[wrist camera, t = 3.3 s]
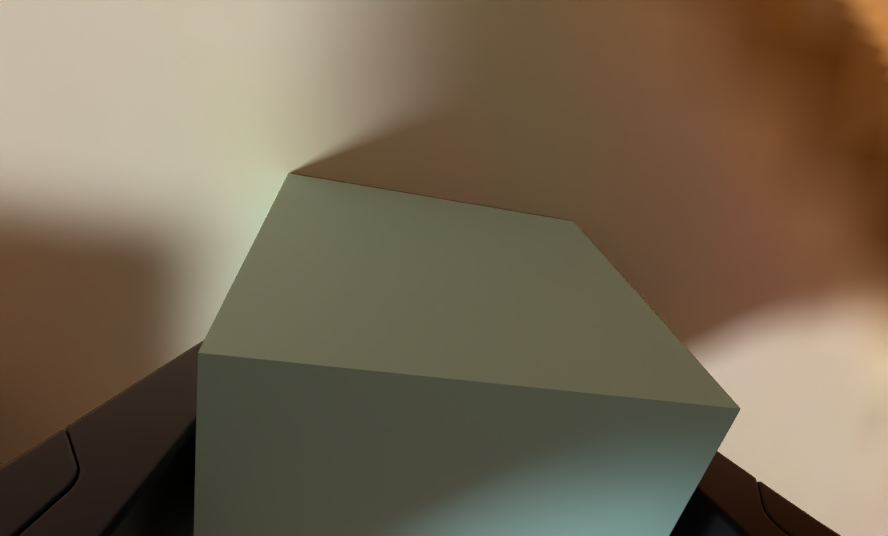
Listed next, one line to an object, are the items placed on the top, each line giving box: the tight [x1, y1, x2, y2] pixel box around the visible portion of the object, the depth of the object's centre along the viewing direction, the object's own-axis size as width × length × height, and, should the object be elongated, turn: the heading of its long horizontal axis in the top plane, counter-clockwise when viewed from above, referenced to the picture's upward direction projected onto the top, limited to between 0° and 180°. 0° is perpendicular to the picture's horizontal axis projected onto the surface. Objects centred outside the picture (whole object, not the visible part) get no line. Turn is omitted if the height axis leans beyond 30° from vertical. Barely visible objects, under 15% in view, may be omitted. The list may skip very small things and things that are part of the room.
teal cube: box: [194, 173, 740, 536], centre depth 8 cm, size 5×5×5 cm
